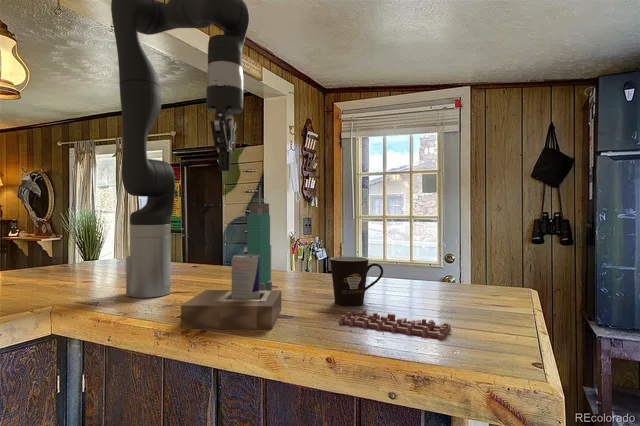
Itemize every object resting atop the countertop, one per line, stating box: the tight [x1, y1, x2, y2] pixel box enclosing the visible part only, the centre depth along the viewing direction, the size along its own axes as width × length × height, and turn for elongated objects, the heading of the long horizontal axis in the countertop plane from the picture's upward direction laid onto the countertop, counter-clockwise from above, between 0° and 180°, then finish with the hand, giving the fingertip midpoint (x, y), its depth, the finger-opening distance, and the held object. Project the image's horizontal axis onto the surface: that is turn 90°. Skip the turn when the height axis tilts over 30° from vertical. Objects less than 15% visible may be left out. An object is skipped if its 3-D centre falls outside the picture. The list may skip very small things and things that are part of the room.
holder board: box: [180, 289, 282, 330], centre depth 77 cm, size 16×14×4 cm
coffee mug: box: [329, 256, 384, 308], centre depth 89 cm, size 12×9×10 cm
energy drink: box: [231, 253, 260, 300], centre depth 77 cm, size 5×5×12 cm
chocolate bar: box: [338, 309, 452, 341], centre depth 71 cm, size 7×19×2 cm, turn 62°
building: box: [246, 173, 273, 290], centre depth 98 cm, size 6×6×30 cm
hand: (224, 171), depth 84 cm, fingers closed
